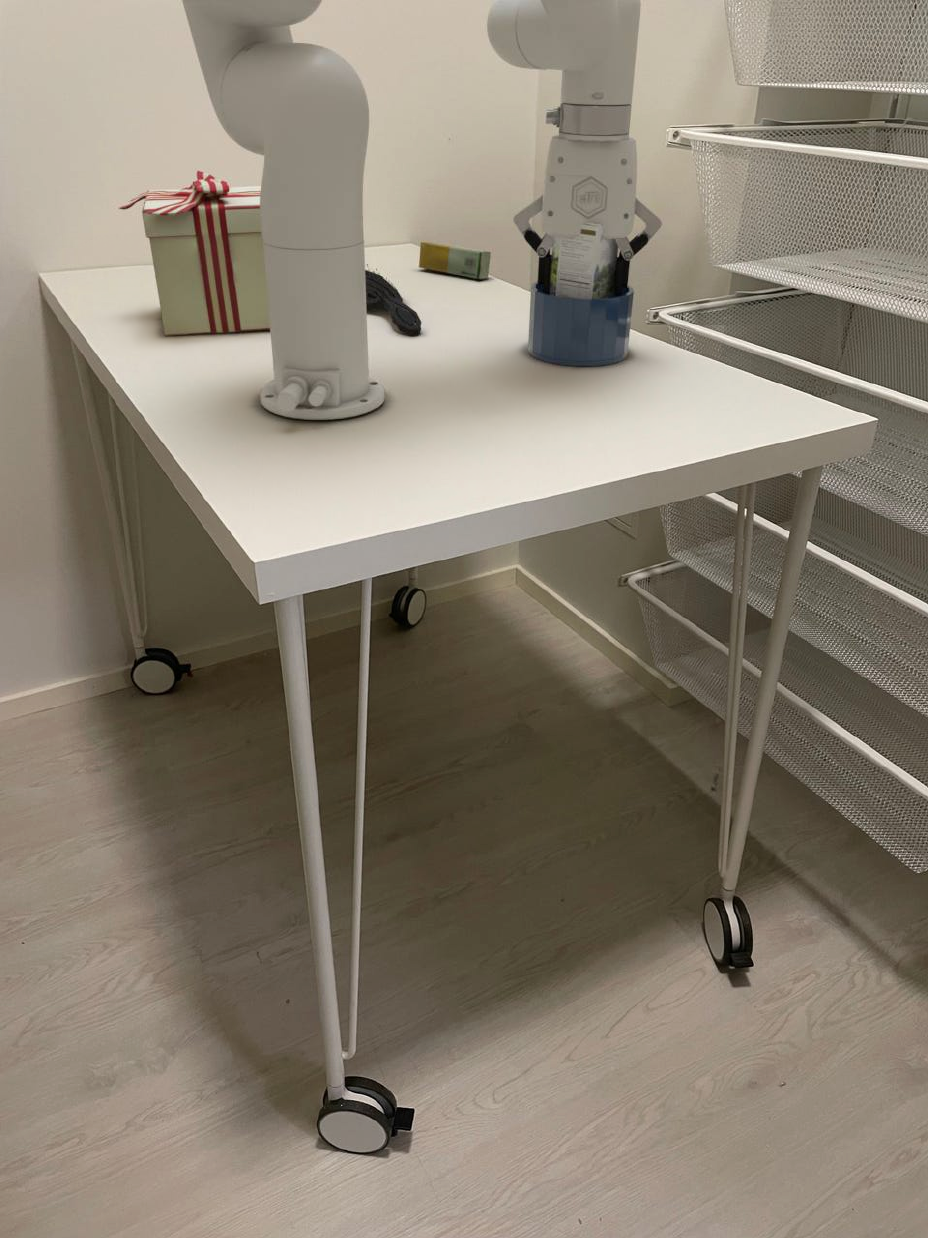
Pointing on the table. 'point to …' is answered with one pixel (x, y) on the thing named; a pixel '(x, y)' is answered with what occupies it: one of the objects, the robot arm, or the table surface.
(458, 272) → the medication box
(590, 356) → the crock
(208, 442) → the table surface
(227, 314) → the gift box
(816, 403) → the table surface
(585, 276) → the syrup box
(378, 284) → the hairbrush
